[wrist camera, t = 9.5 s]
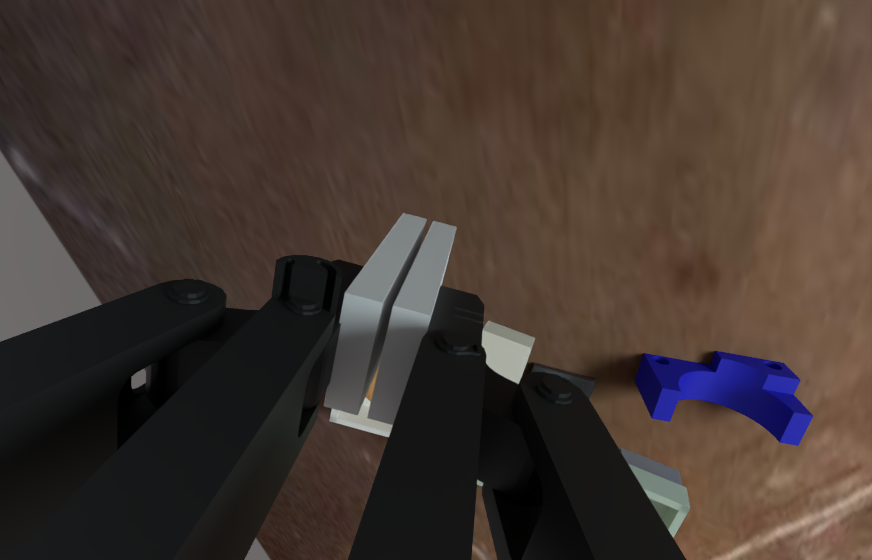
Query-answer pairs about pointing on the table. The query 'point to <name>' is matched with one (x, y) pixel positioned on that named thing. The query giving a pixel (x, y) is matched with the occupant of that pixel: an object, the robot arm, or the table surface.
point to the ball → (371, 387)
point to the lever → (656, 479)
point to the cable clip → (727, 390)
